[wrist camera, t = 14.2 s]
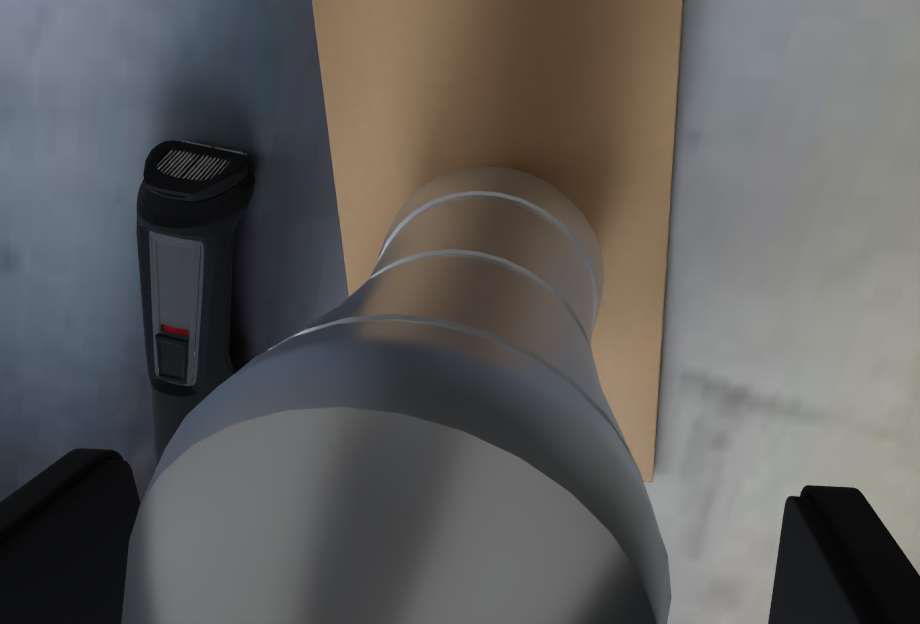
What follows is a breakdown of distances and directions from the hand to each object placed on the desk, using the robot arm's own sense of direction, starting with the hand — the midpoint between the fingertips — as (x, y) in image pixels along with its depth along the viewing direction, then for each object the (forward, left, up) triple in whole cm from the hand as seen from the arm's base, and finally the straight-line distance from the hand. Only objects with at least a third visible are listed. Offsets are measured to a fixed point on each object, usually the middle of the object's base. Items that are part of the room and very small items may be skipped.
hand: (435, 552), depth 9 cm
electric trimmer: (+12, +3, -14) cm, 19 cm away
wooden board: (0, -1, -14) cm, 14 cm away
